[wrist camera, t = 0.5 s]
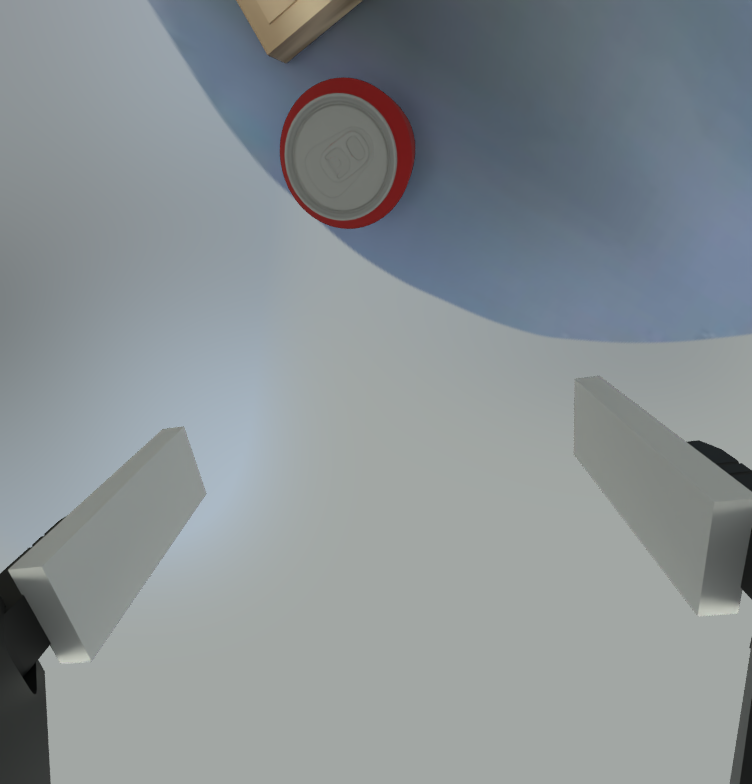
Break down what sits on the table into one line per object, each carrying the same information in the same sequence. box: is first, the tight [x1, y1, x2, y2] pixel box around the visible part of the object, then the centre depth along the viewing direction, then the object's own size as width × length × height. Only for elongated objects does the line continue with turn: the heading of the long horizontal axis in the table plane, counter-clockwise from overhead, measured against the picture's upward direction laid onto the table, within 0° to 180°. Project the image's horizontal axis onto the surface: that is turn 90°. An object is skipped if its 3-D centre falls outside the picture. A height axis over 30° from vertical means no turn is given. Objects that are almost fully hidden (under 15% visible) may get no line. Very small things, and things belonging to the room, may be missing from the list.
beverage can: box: [280, 78, 415, 229], centre depth 26 cm, size 7×7×12 cm
